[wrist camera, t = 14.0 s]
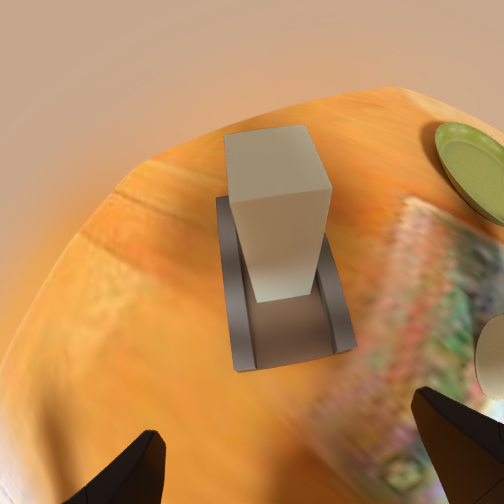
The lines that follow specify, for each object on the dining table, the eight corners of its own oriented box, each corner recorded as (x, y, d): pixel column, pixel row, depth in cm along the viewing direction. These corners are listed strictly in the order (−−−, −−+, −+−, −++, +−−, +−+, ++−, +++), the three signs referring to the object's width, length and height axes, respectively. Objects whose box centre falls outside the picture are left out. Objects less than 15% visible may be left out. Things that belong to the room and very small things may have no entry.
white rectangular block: (309, 294, 23) (333, 188, 11) (257, 302, 23) (229, 203, 11) (298, 243, 25) (304, 124, 14) (250, 251, 25) (223, 135, 14)
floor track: (349, 351, 20) (357, 345, 18) (238, 372, 21) (233, 370, 18) (306, 198, 28) (307, 182, 26) (220, 213, 28) (215, 197, 26)
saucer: (436, 121, 35) (441, 107, 32) (523, 179, 28) (531, 167, 25) (416, 188, 28) (425, 169, 25) (529, 267, 21) (543, 256, 18)
